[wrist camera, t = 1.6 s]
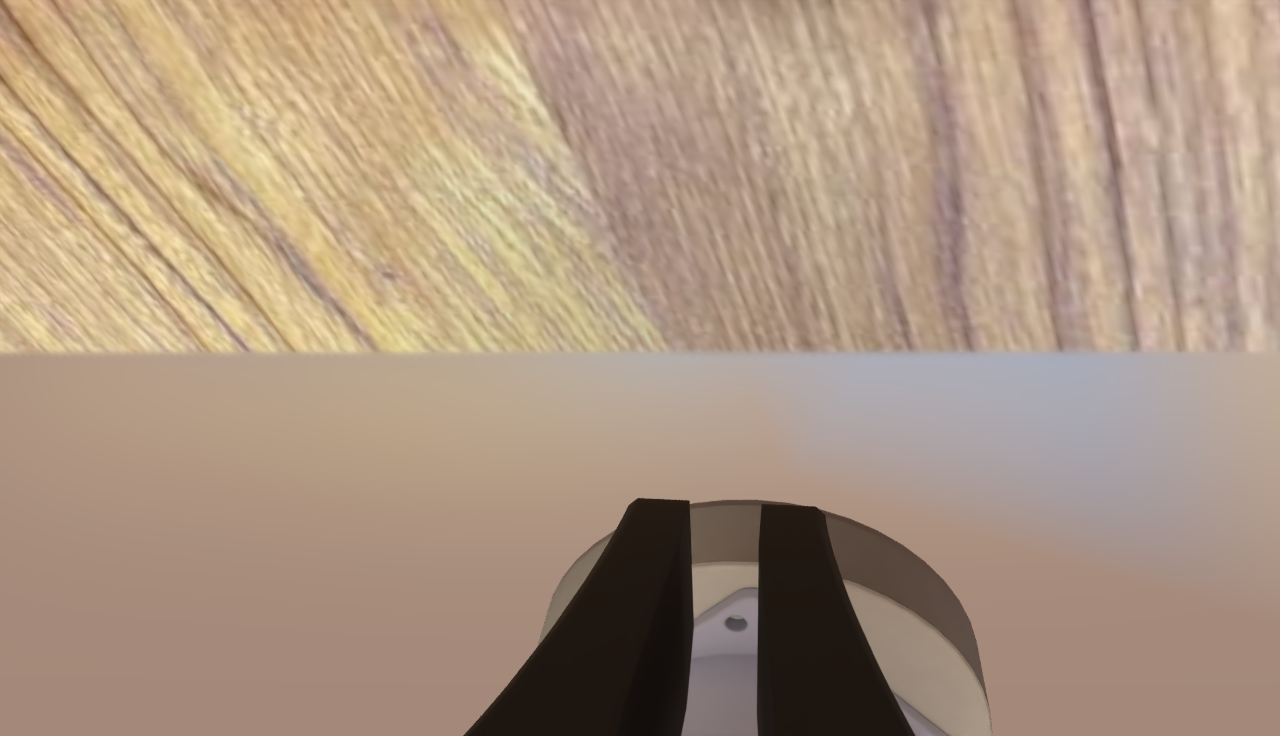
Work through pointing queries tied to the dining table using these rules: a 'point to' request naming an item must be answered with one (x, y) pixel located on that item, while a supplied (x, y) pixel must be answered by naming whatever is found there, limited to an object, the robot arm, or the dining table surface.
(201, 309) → the dining table surface
